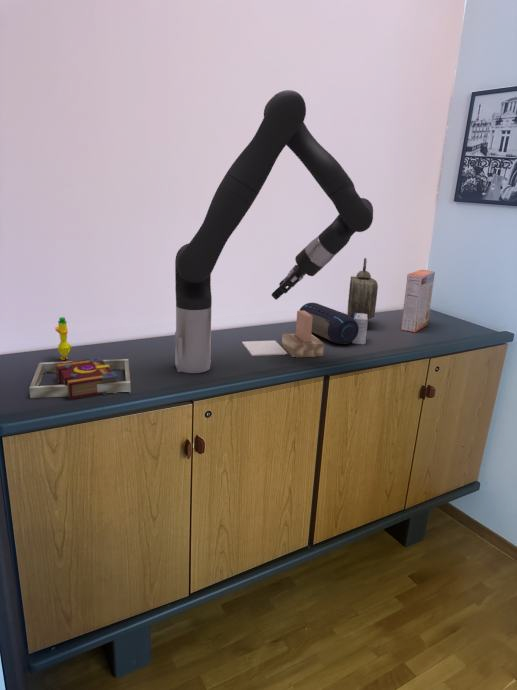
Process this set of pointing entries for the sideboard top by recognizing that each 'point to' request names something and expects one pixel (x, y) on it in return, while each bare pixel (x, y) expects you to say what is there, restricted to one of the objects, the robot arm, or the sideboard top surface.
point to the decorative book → (84, 376)
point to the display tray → (62, 390)
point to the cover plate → (303, 326)
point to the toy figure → (63, 338)
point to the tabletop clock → (362, 294)
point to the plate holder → (302, 346)
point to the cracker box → (417, 300)
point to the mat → (264, 348)
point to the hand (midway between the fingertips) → (277, 291)
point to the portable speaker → (331, 323)
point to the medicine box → (361, 328)
